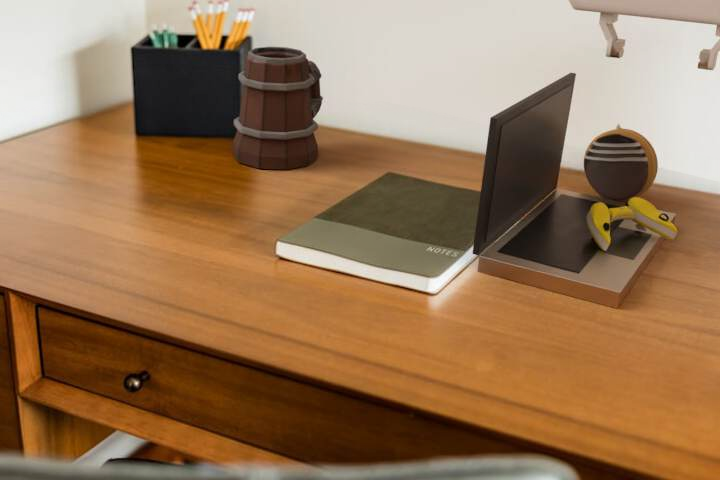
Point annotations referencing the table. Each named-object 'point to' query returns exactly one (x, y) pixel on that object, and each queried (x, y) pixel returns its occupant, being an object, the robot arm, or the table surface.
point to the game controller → (633, 210)
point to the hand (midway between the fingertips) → (659, 62)
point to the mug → (277, 109)
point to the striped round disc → (620, 164)
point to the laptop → (573, 250)
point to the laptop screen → (522, 159)
